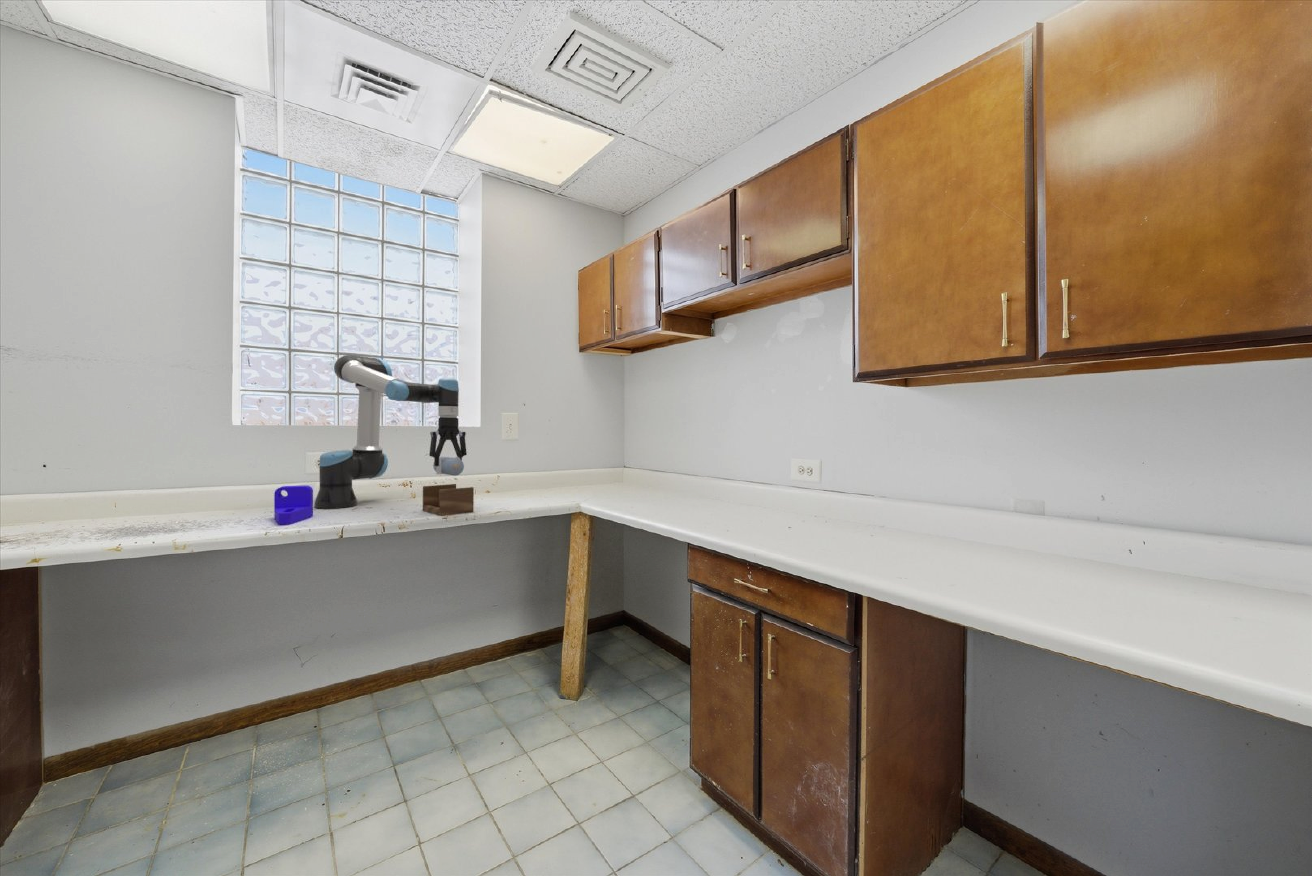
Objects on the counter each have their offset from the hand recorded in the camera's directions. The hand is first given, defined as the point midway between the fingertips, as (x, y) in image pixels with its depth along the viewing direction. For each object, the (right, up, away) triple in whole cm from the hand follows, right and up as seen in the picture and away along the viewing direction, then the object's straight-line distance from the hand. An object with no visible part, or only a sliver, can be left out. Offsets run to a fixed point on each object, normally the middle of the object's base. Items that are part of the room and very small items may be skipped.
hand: (448, 473), depth 200 cm
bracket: (-47, -16, -23) cm, 55 cm away
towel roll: (0, 0, 0) cm, 0 cm away
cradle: (0, -15, 0) cm, 15 cm away
